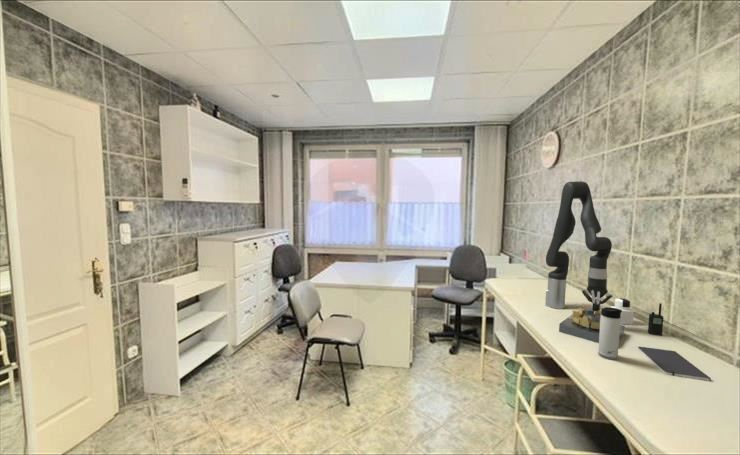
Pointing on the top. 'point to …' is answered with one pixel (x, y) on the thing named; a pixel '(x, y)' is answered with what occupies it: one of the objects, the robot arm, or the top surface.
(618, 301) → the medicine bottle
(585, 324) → the segmented ring
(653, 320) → the walkie-talkie
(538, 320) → the top surface
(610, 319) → the travel mug
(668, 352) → the notebook
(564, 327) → the domed button plate
